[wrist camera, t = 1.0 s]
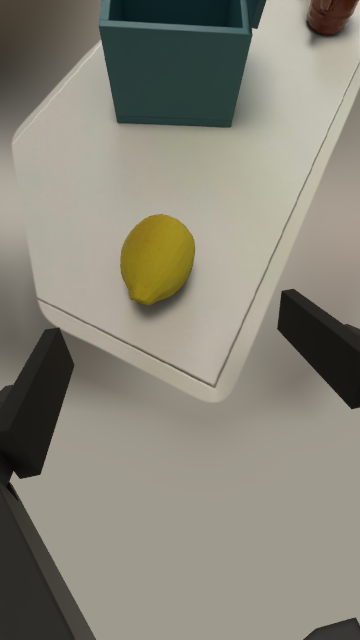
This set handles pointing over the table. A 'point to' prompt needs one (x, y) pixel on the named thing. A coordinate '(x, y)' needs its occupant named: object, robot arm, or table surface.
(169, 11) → the teal box
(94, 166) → the table surface
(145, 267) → the lemon
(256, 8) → the lid
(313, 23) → the mug
